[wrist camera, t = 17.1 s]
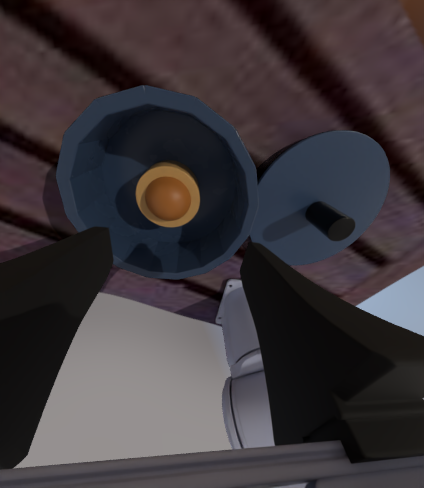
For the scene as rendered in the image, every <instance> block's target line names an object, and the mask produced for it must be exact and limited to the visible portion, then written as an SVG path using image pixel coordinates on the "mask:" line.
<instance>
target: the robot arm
mask: <svg viewBox="0 0 424 488" xmlns="http://www.w3.org/2000/svg"><path fill="white" fill-rule="evenodd" d="M113 262H114V259H113V252H112V245H111V238H110V231H109V228H107V227H97V226H95V227H92V228H89V229H86V230H84V231H82V232H79V233H77V234H75V235H72V236H70V237H68V238H65V239H63V240H61V241H58V242H56V243H54V244H51V245H49V246H46V247H44V248H41V249H39V250H36V251H34V252H31V253H28V254H26V255H23V256H21V257H18V258H15V259H12V260H9V261H6V262H3V263H0V488H424V400H423V399H422V398H424V336H422V335H419V334H417V333H414V332H412V331H410V330H407V329H405V328H402V327H400V326H397V325H394V324H392V323H390V322H388V321H385V320H383V319H381V318H379V317H377V316H374V315H372V314H370V313H368V312H366V311H364V310H361V309H359V308H357V307H355V306H353V305H352V304H350V303H348V302H346V301H344V300H342V299H340V298H338V297H336V296H335V295H333V294H331V293H329V292H328V291H326V290H324V289H323V288H321V287H320V286H318V285H316V284H315V283H313V282H312V281H310V280H308V279H307V278H306V277H304V276H303V275H301V274H300V273H298V272H297V271H296V270H294V269H293V268H292V267H290V266H289V265H288V264H286V263H285V262H284V261H283V260H281V259H280V258H279V257H277V256H276V255H275V254H274V253H272V252H271V251H270V250H269V249H267V248H266V247H265V246H263V245H262V244H260V243H254V242H249V243H248V246H247V250H246V253H245V256H244V259H243V262H242V265H241V268H240V275H241V280H238V279H229V280H228V281H227V283H226V287H225V290H224V293H223V297H222V300H221V303H220V307H219V310H218V313H217V317H216V323H218V324H222V328H223V335H224V342H225V349H226V356H227V361H228V364H229V367H230V371H231V377H228V378H227V380H226V381H225V386H224V388H223V392H222V409H223V417H224V423H225V428H226V432H227V435H228V438H229V442H230V444H231V446H232V449H233V450H222V451H210V452H198V453H188V454H175V455H164V456H153V457H141V458H129V459H118V460H106V461H95V462H83V463H72V464H60V465H49V466H37V467H26V468H15V469H12V468H14V467H15V466H16V465H17V464H19V463H20V462H21V461H22V460H23V459H24V458H25V457H26V456H27V455H28V452H29V449H30V446H31V443H32V440H33V438H34V435H35V432H36V430H37V427H38V424H39V421H40V419H41V416H42V413H43V410H44V408H45V405H46V403H47V400H48V397H49V395H50V392H51V390H52V387H53V385H54V382H55V380H56V377H57V375H58V372H59V370H60V368H61V365H62V363H63V360H64V358H65V356H66V354H67V351H68V349H69V347H70V345H71V343H72V340H73V338H74V336H75V334H76V332H77V329H78V327H79V325H80V324H81V321H82V320H83V318H84V316H85V314H86V313H87V311H88V309H89V307H90V306H91V304H92V303H93V301H94V299H95V297H96V296H97V294H98V293H99V291H100V289H101V287H102V286H103V284H104V282H105V280H106V279H107V277H108V274H109V272H110V269H111V267H112V264H113Z"/></svg>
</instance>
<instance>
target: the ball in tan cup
mask: <svg viewBox="0 0 424 488" xmlns="http://www.w3.org/2000/svg"><path fill="white" fill-rule="evenodd" d="M136 201H137V204H138V207H139V208H140V210H141V212H142V213H143V214H144V216H145V217H146V218H148V219H149V220H150V221H152V222H153V223H155V224H157V225H160V226H163V227H178V226H182V225H184V224H186V223H188V222H189V221H190V220H191V219H192V218H193V217H194V216H195V215H196V213H197V211H198V208H199V205H200V193H199V185H198V181H197V179H196V176H195V175H194V173H193V172H192V171H191V170H190V169H189V168H188V167H187V166H185V165H184V164H182V163H180V162H177V161H173V160H164V161H160V162H157V163H155V164H154V165H152V166H151V167H150V168H149V169H148V170H147V171H146V172H145V173H144V174H143V175H142V176H141V178H140V179H139V181H138V183H137V186H136Z"/></svg>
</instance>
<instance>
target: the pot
mask: <svg viewBox="0 0 424 488" xmlns="http://www.w3.org/2000/svg"><path fill="white" fill-rule="evenodd" d="M164 160H173V161H177V162H180V163H182V164H184V165H185V166H187V167H188V168H189V169H190V170H191V171H192V172H193V173H194V175H195V176H196V179H197V181H198V185H199V193H200V205H199V208H198V211H197V213H196V215H195V216H194V217H193V218H192V219H191V220H190V221H189V222H188V223H186V224H184V225H182V226H178V227H163V226H160V225H157V224H155V223H153V222H152V221H150V220H149V219H148V218H146V217H145V216H144V214H143V213H142V212H141V210H140V208H139V207H138V204H137V201H136V186H137V183H138V181H139V179H140V178H141V176H142V175H143V174H144V173H145V172H146V171H147V170H148V169H149V168H150V167H151V166H152V165H154V164H155V163H157V162H160V161H164ZM56 180H57V183H58V187H59V191H60V195H61V198H62V202H63V206H64V209H65V213H66V215H67V217H68V219H69V220H70V221H71V223H72V224H73V225H74V227H75V228H76V230H77V231H78V232H82V231H84V230H86V229H89V228H92V227H95V226H97V227H107V228H109V231H110V238H111V245H112V252H113V259H114V262H113V264H114V265H115V266H117V267H119V268H122V269H125V270H127V271H130V272H133V273H136V274H139V275H141V276H144V277H148V278H163V279H182V278H187V277H191V276H196V275H200V274H204V273H207V272H208V271H210V270H212V269H214V268H215V267H217V266H219V265H220V264H222V263H224V262H225V261H227V260H229V259H230V258H231V257H232V256H233V255H234V253H235V252H236V251H237V250H238V249H239V247H240V246H241V245H242V244H243V242H244V241H245V240H246V239H247V238H248V236H249V234H250V231H251V228H252V225H253V222H254V219H255V216H256V213H257V210H258V207H259V198H258V185H257V173H256V168H255V164H254V162H253V161H252V159H251V157H250V155H249V153H248V151H247V149H246V147H245V145H244V143H243V142H242V140H241V138H240V136H239V134H238V132H237V130H236V129H235V127H233V126H232V125H231V124H230V123H228V122H227V121H226V120H225V119H223V118H222V117H221V116H220V115H218V114H217V113H216V112H215V111H213V110H212V109H211V108H210V107H208V106H207V105H206V104H205V103H203V102H202V101H201V100H200V99H198V98H197V97H195V96H191V95H186V94H182V93H178V92H174V91H169V90H165V89H161V88H156V87H152V86H148V85H145V86H144V85H141V86H138V87H134V88H131V89H127V90H124V91H120V92H117V93H113V94H109V95H106V96H102V97H99V98H96V99H94V100H93V101H92V103H91V104H90V105H89V106H88V107H87V108H86V109H85V110H84V111H83V112H82V114H81V115H80V116H79V117H78V118H77V119H76V120H75V121H74V122H73V123H72V125H71V126H70V127H69V128H68V129H67V130H66V131H65V134H64V135H63V140H62V145H61V151H60V156H59V161H58V166H57V171H56Z"/></svg>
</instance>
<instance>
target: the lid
mask: <svg viewBox="0 0 424 488" xmlns="http://www.w3.org/2000/svg"><path fill="white" fill-rule="evenodd" d="M389 181H390V168H389V163H388V159H387V157H386V155H385V152H384V151H383V149H382V148H381V146H380V145H379V144H378V143H377V142H376V141H375V140H373V139H372V138H370V137H368V136H367V135H365V134H362V133H359V132H355V131H348V130H334V131H327V132H322V133H319V134H316V135H313V136H310V137H308V138H306V139H304V140H301V141H299V142H298V143H296V144H295V145H293V146H291V147H290V148H288V149H287V150H286V151H285V152H283V153H282V154H281V155H280V156H278V157H277V158H276V159H275V160H274V161H273V162H272V163H271V164H270V166H269V167H268V168H267V169H266V171H265V172H264V173H263V175H262V176H261V178H260V179H259V181H258V182H257V185H258V198H259V207H258V210H257V213H256V216H255V219H254V222H253V225H252V228H251V231H250V234H249V236H250V238H251V241H252V242H254V243H260V244H262V245H263V246H265V247H266V248H267V249H269V250H270V251H271V252H272V253H274V254H275V255H276V256H277V257H279V258H280V259H281V260H283V261H284V262H285V263H286V264H288V265H305V264H311V263H314V262H318V261H321V260H324V259H326V258H328V257H330V256H333V255H335V254H336V253H338V252H340V251H341V250H343V249H344V248H346V247H347V246H349V245H350V244H351V243H353V242H354V241H355V240H356V239H357V238H358V237H359V236H361V235H362V234H363V233H364V231H365V230H366V229H367V228H368V227H369V226H370V224H371V223H372V222H373V221H374V219H375V218H376V216H377V214H378V213H379V211H380V209H381V207H382V205H383V203H384V200H385V198H386V195H387V191H388V188H389Z"/></svg>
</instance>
